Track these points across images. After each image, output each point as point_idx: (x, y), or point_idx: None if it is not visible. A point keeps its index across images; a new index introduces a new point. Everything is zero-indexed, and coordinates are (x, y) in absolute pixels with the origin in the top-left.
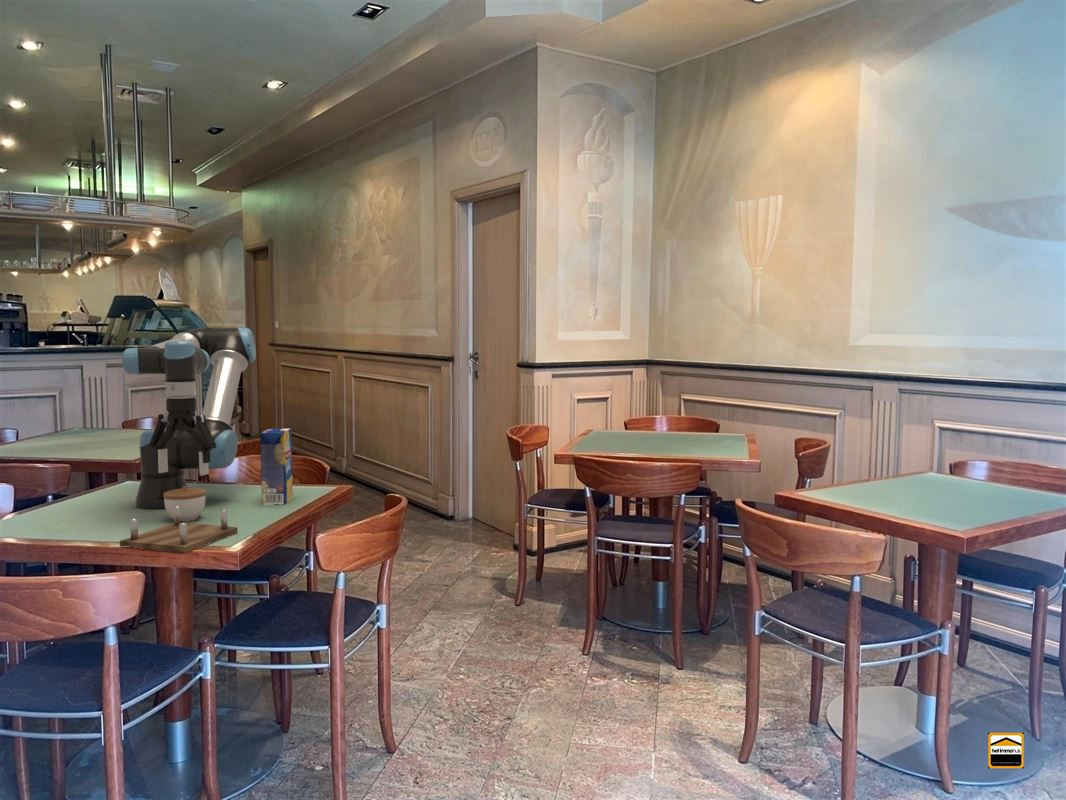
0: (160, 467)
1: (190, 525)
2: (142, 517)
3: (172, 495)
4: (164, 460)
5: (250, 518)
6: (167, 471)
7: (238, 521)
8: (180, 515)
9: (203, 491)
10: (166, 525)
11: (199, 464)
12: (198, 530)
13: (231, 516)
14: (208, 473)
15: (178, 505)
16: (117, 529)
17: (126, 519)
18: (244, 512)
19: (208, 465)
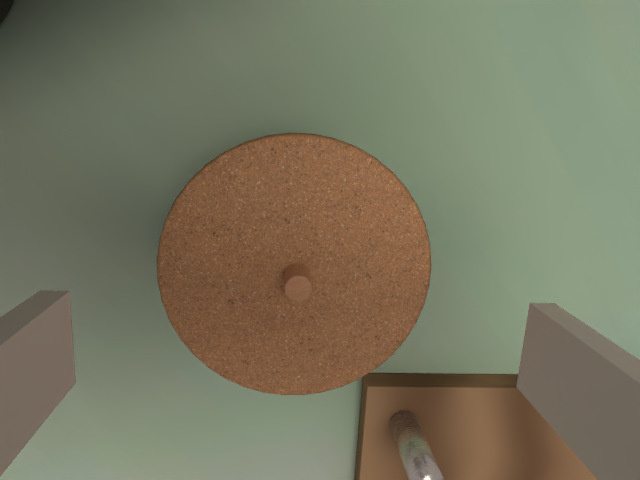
0: (46, 413)
1: (468, 418)
2: (46, 257)
3: (299, 390)
4: (4, 397)
5: (607, 136)
6: (68, 298)
7: (576, 206)
8: (428, 444)
9: (421, 234)
10: (364, 445)
11: (576, 452)
12: (548, 469)
13: (490, 122)
14: (557, 309)
15: (428, 473)
16: (129, 460)
17: (3, 312)
18: (513, 17)
19: (605, 337)
